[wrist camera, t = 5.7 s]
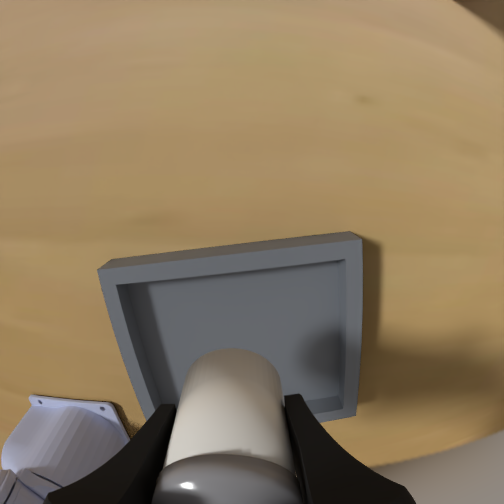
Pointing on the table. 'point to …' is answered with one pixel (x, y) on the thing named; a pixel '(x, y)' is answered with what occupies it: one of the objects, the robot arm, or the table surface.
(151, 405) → the tray
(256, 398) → the shaker
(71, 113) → the table surface
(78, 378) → the table surface
